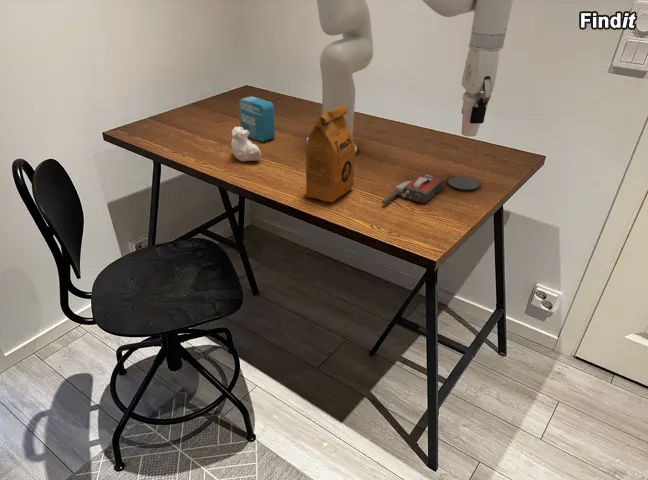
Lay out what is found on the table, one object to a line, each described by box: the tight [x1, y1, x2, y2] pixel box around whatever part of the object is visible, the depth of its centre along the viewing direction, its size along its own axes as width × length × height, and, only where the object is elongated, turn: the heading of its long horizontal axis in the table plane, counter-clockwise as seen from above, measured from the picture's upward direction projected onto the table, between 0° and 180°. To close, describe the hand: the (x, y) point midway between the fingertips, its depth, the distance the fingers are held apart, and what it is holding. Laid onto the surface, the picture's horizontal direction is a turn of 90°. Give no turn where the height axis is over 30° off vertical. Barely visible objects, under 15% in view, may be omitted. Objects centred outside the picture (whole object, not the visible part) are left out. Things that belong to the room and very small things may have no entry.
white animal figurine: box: [230, 126, 262, 163], centre depth 152 cm, size 12×8×11 cm
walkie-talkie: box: [381, 172, 445, 205], centre depth 132 cm, size 9×4×20 cm
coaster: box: [447, 176, 480, 192], centre depth 138 cm, size 8×8×1 cm
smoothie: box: [461, 91, 491, 137], centre depth 127 cm, size 6×6×14 cm
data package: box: [238, 95, 276, 143], centre depth 167 cm, size 12×4×12 cm, turn 44°
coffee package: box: [305, 106, 356, 203], centre depth 129 cm, size 10×12×22 cm
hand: (472, 117), depth 128 cm, fingers closed on smoothie, 6 cm apart
